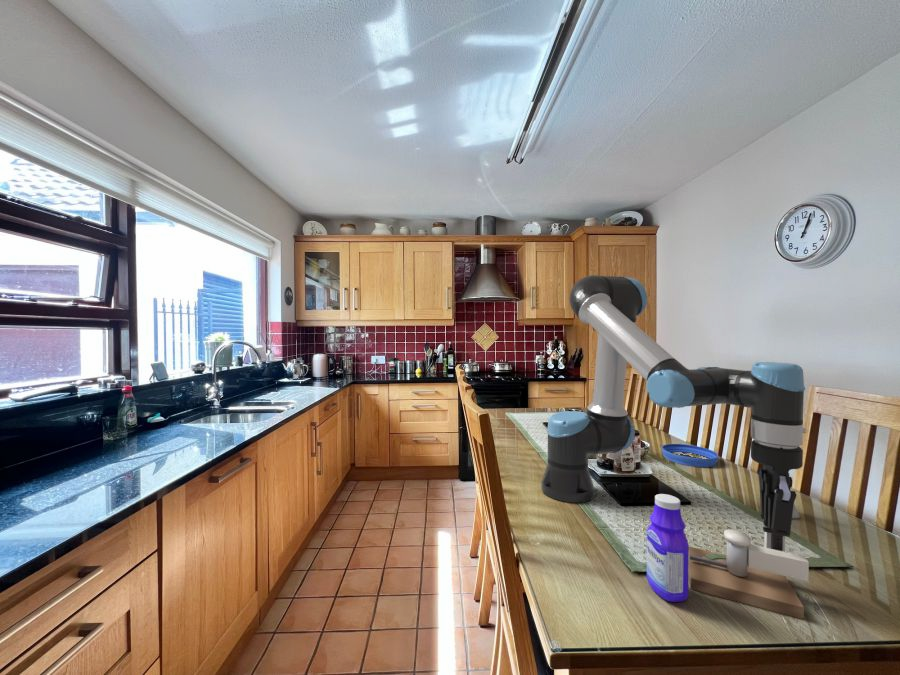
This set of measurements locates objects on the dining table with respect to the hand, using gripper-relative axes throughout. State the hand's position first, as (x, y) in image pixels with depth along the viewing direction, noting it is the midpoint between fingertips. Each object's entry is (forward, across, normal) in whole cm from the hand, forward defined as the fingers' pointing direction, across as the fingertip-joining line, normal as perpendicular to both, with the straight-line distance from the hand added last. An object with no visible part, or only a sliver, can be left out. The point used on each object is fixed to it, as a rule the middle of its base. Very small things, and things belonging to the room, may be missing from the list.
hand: (773, 564), depth 72 cm
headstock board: (+3, -4, +7) cm, 8 cm away
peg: (+1, -4, +5) cm, 7 cm away
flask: (+4, +36, -11) cm, 38 cm away
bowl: (+4, +74, +6) cm, 74 cm away
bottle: (+4, -13, +19) cm, 23 cm away
